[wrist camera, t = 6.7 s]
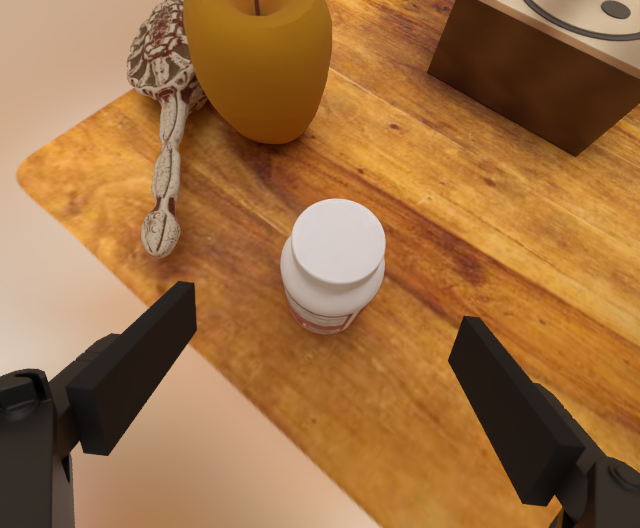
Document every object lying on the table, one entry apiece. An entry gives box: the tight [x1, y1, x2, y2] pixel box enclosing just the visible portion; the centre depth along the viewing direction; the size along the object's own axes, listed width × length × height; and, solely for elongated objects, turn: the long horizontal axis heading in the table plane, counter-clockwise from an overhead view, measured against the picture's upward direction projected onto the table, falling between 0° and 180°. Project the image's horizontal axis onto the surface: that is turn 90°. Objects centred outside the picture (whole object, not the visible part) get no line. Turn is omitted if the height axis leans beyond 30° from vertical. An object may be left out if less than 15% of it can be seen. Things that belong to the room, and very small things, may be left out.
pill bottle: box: [280, 199, 386, 334], centre depth 20 cm, size 6×6×11 cm
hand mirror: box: [127, 0, 208, 258], centre depth 27 cm, size 11×6×30 cm
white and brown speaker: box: [427, 0, 640, 156], centre depth 32 cm, size 19×15×9 cm
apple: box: [183, 0, 332, 144], centre depth 25 cm, size 11×11×13 cm
